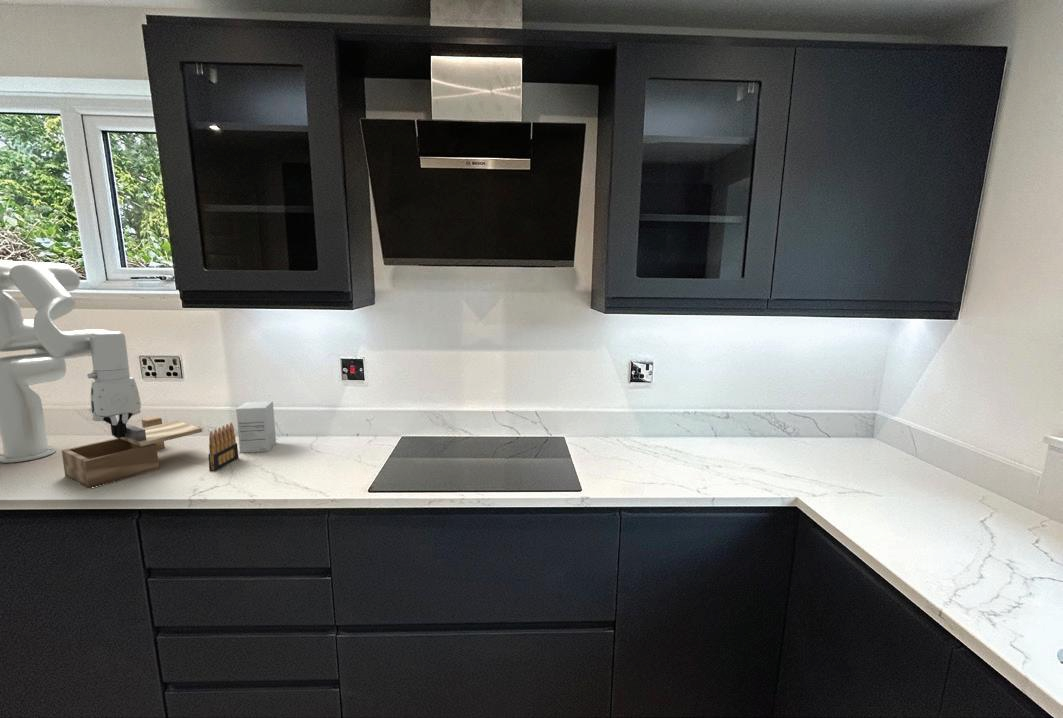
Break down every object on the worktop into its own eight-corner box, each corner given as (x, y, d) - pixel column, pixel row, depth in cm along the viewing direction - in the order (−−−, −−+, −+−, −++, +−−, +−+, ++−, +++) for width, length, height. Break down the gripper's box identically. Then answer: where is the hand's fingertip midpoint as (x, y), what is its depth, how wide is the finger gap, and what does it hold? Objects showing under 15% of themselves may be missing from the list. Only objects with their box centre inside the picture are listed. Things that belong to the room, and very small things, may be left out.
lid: (117, 437, 143) (115, 424, 142) (177, 424, 156) (176, 412, 156) (141, 446, 135) (139, 432, 135) (202, 432, 149) (200, 419, 148)
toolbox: (65, 476, 133) (61, 450, 132) (134, 458, 147) (131, 435, 146) (89, 489, 126) (85, 461, 124) (159, 469, 139) (156, 444, 138)
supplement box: (247, 444, 162) (244, 401, 160) (276, 442, 164) (273, 400, 162) (238, 453, 153) (235, 408, 151) (269, 451, 156) (266, 407, 153)
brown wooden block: (144, 448, 156) (141, 419, 155) (159, 445, 160) (156, 416, 158) (150, 450, 154) (147, 421, 153) (164, 447, 158) (161, 418, 156)
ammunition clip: (233, 458, 149) (230, 421, 147) (238, 458, 149) (235, 421, 147) (209, 471, 139) (205, 432, 137) (215, 471, 139) (211, 432, 137)
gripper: (83, 380, 126) (92, 446, 129) (149, 372, 139) (156, 432, 141) (72, 377, 129) (80, 441, 132) (137, 369, 142) (144, 428, 145)
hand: (119, 436), depth 137 cm, fingers closed
